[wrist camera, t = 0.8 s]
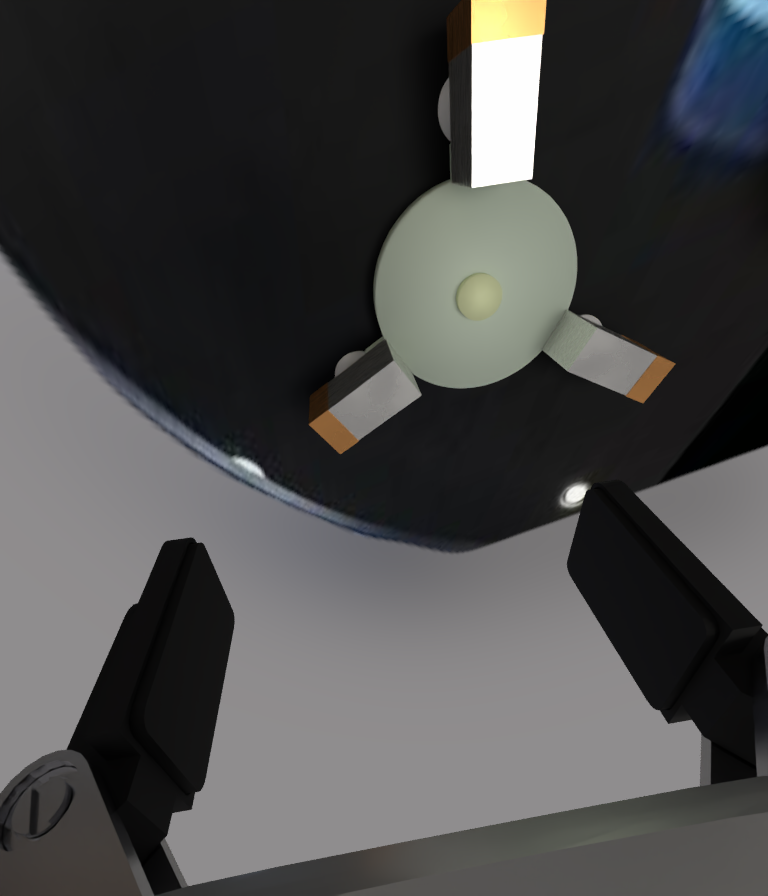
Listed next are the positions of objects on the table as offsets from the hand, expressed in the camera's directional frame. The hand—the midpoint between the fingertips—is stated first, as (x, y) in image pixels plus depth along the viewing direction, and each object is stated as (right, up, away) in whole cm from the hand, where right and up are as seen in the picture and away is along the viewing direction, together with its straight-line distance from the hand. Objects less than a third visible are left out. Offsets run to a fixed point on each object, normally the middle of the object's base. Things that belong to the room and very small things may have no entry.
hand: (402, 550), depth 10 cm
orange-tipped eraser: (-3, +9, +25) cm, 26 cm away
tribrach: (+7, +13, +23) cm, 28 cm away
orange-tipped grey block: (+16, +12, +25) cm, 32 cm away
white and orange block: (+5, +24, +16) cm, 29 cm away
